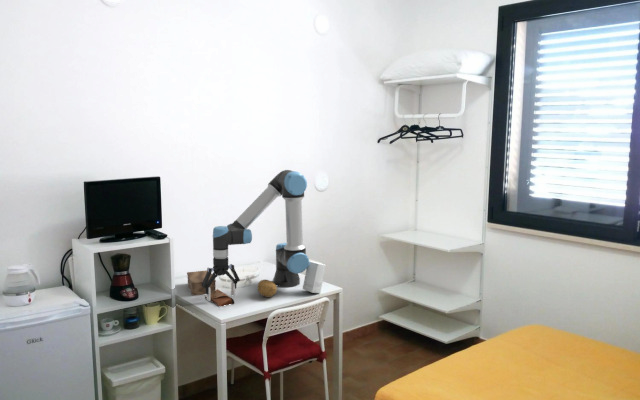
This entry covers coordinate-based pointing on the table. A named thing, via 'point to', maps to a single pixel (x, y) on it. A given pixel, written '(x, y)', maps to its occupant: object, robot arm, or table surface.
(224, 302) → the sunglasses case
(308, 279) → the skincare box
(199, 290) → the walnut box
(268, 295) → the potato
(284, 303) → the table surface
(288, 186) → the robot arm
